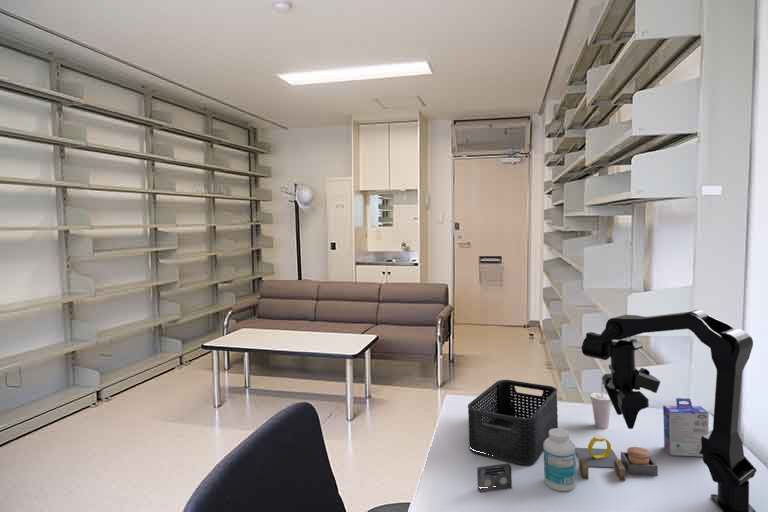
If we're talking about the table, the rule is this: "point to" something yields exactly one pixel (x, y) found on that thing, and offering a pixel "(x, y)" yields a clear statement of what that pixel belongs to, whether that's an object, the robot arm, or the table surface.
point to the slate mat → (593, 462)
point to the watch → (599, 438)
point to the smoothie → (601, 408)
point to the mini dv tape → (494, 477)
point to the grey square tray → (639, 466)
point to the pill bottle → (559, 460)
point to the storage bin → (512, 421)
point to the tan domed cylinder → (638, 455)
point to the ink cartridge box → (684, 428)
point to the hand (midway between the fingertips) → (624, 421)
